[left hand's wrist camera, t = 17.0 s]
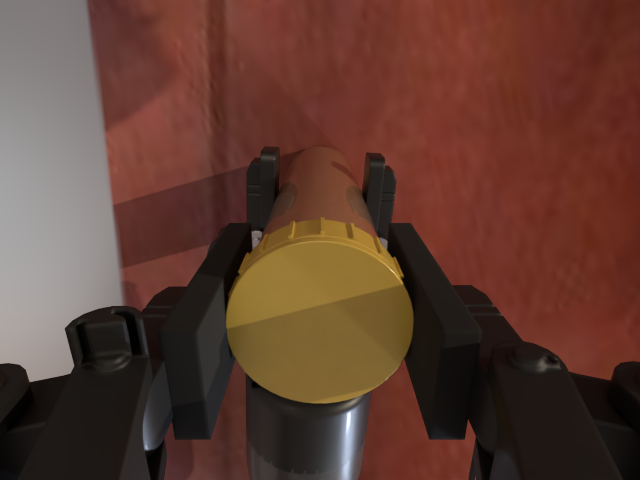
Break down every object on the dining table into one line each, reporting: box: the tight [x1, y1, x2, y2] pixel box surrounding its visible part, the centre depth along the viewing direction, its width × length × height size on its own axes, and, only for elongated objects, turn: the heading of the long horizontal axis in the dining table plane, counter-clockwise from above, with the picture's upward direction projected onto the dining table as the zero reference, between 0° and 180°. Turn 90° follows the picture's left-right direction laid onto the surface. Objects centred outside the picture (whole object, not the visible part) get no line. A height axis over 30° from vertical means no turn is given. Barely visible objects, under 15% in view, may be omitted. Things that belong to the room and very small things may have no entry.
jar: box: [258, 146, 381, 244], centre depth 18 cm, size 4×4×17 cm
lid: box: [226, 217, 414, 403], centre depth 11 cm, size 5×5×2 cm
